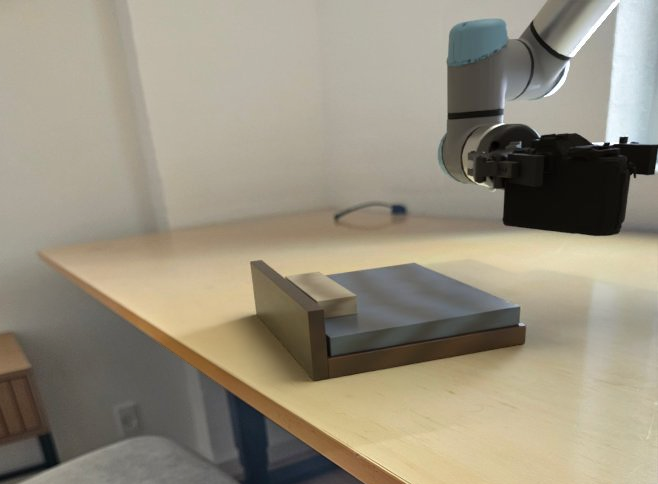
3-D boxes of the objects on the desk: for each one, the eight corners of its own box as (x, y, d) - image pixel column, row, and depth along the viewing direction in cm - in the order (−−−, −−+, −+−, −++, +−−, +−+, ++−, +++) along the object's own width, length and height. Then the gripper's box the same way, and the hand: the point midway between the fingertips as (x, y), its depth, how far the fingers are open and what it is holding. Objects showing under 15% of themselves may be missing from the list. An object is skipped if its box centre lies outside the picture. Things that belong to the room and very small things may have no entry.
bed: (416, 289, 94) (416, 239, 91) (525, 343, 70) (529, 277, 67) (256, 313, 89) (249, 261, 86) (313, 381, 65) (307, 311, 61)
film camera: (668, 224, 65) (684, 124, 61) (601, 239, 61) (613, 133, 57) (551, 213, 77) (558, 129, 73) (488, 225, 73) (492, 136, 69)
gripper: (586, 180, 86) (701, 195, 66) (413, 197, 83) (479, 218, 63) (592, 115, 82) (715, 111, 63) (412, 132, 80) (482, 133, 60)
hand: (597, 165), depth 63 cm, fingers closed on film camera, 11 cm apart
